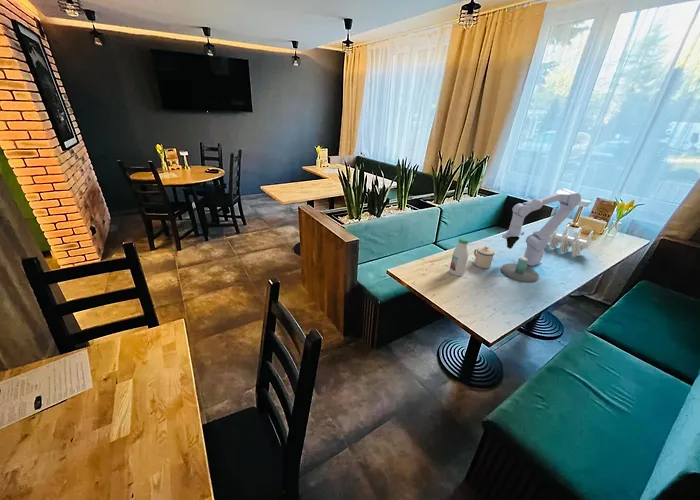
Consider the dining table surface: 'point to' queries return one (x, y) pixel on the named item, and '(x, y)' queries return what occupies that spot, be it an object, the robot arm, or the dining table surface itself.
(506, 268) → the slate plate
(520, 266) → the pepper shaker
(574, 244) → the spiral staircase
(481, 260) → the teacup with lid
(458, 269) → the milk bottle
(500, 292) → the dining table surface
